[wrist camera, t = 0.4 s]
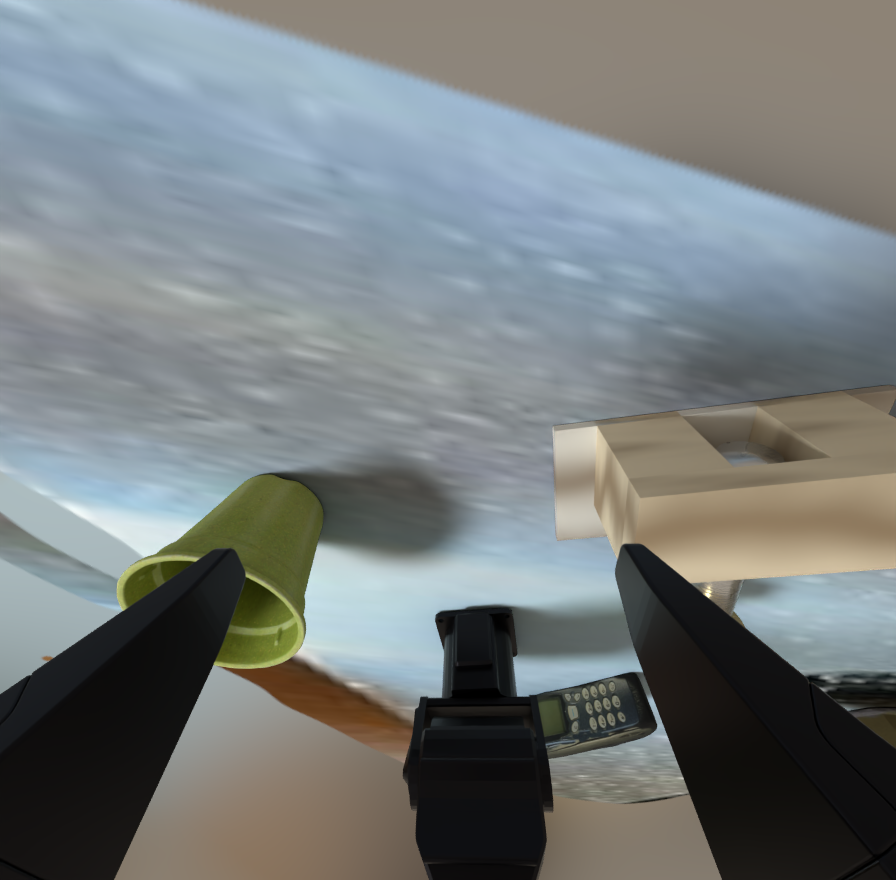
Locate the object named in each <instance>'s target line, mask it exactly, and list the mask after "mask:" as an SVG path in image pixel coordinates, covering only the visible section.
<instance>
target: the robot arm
mask: <svg viewBox="0 0 896 880" xmlns="http://www.w3.org/2000/svg"><path fill="white" fill-rule="evenodd" d="M615 576H616V581H617V585H618V589H619V592H620V596H621V600H622V604H623V608H624V612H625V615H626V619H627V623H628V627H629V631H630V634H631V638H632V641H633V645H634V648H635V651H636V654H637V657H638V659H639V662H640V665H641V667H642V670H643V673H644V675H645V678H646V680H647V683H648V686H649V688H650V691H651V694H652V696H653V699H654V702H655V704H656V707H657V709H658V712H659V715H660V717H661V720H662V723H663V725H664V728H665V731H666V733H667V736H668V738H669V741H670V744H671V746H672V749H673V752H674V754H675V757H676V760H677V762H678V765H679V767H680V770H681V773H682V775H683V778H684V781H685V783H686V786H687V789H688V791H689V794H690V796H691V799H692V801H693V804H694V807H695V810H696V812H697V815H698V818H699V820H700V823H701V825H702V828H703V831H704V833H705V836H706V839H707V841H708V844H709V846H710V849H711V852H712V854H713V857H714V859H715V862H716V865H717V868H718V870H719V873H720V875H721V878H722V880H896V748H895V747H894V746H892V745H891V744H890V743H888V742H887V741H886V740H884V739H883V738H882V737H880V736H879V735H878V734H876V733H875V732H874V731H873V730H871V729H870V728H869V727H867V726H866V725H865V724H864V723H862V722H861V721H860V720H859V719H857V718H856V717H855V716H854V715H852V714H851V713H850V712H849V711H847V710H846V709H845V708H843V707H842V706H841V705H840V704H838V703H837V702H836V701H835V700H833V699H832V698H831V697H830V696H829V695H827V694H826V693H825V692H824V691H822V690H821V689H820V688H819V687H817V686H816V685H815V684H814V683H809V680H808V679H807V678H806V677H805V676H804V675H803V674H801V673H800V672H799V671H798V670H796V669H795V668H794V667H793V666H792V665H790V664H789V663H788V662H787V661H785V660H784V659H783V658H782V657H780V656H779V655H778V654H777V653H776V652H774V651H773V650H772V649H771V648H769V647H768V646H767V645H766V644H765V643H763V642H762V641H761V640H760V639H758V638H757V637H756V636H755V635H753V634H752V633H751V632H750V631H749V630H747V629H746V628H745V627H744V626H742V625H741V624H740V623H739V622H738V621H736V620H735V619H734V618H733V617H731V616H730V615H729V614H728V613H727V612H725V611H724V610H723V609H722V608H720V607H719V606H718V605H717V604H715V603H714V602H713V601H712V600H711V599H709V598H708V597H707V596H706V595H704V594H703V593H702V592H701V591H700V590H698V589H697V588H696V587H695V586H693V585H692V584H691V583H690V582H688V581H687V580H686V579H685V578H684V577H682V576H681V575H680V574H679V573H677V572H676V571H675V570H674V569H673V568H671V567H670V566H669V565H668V564H666V563H665V562H664V561H663V560H662V559H660V558H659V557H658V556H657V555H655V554H654V553H653V552H652V551H650V550H649V549H648V548H647V547H646V546H644V545H642V544H640V543H625V544H623V545H622V546H621V548H620V551H619V555H618V560H617V564H616V568H615ZM245 579H246V573H245V569H244V567H243V565H242V563H241V561H240V558H239V556H238V554H237V552H236V551H235V550H234V549H233V548H216V549H213V550H212V551H210V552H209V553H207V554H206V555H204V556H203V557H201V558H200V559H199V560H197V561H196V562H194V563H193V564H191V565H190V566H188V567H187V568H185V569H184V570H182V571H181V572H179V573H178V574H176V575H175V576H174V577H172V578H171V579H169V580H168V581H166V582H165V583H163V584H162V585H160V586H159V587H157V588H156V589H154V590H153V591H152V592H150V593H149V594H147V595H146V596H144V597H143V598H141V599H140V600H138V601H137V602H135V603H134V604H132V605H131V606H129V607H128V608H127V609H125V610H124V611H122V612H121V613H119V614H118V615H116V616H115V617H114V618H112V619H111V620H109V621H107V622H106V623H105V624H103V625H102V626H100V627H99V628H97V629H96V630H94V631H93V632H91V633H90V634H88V635H87V636H86V637H84V638H82V639H81V640H80V641H78V642H77V643H75V644H74V645H72V646H71V647H69V648H68V649H66V650H65V651H63V652H62V653H60V654H59V655H57V656H56V657H55V658H53V659H52V660H50V661H49V662H47V663H46V664H44V665H43V666H41V667H40V668H38V669H37V670H36V671H34V672H33V673H32V675H29V676H26V677H25V678H23V679H22V680H21V681H19V682H18V683H16V684H15V685H13V686H12V687H10V688H9V689H8V690H6V691H4V692H3V693H1V694H0V880H114V878H115V876H116V874H117V872H118V870H119V868H120V866H121V864H122V861H123V859H124V857H125V855H126V853H127V850H128V848H129V846H130V844H131V842H132V840H133V837H134V835H135V833H136V831H137V829H138V827H139V825H140V822H141V820H142V818H143V816H144V814H145V812H146V809H147V807H148V805H149V803H150V801H151V798H152V797H153V794H154V792H155V790H156V788H157V786H158V784H159V781H160V779H161V777H162V775H163V772H164V770H165V768H166V766H167V764H168V762H169V760H170V757H171V755H172V753H173V751H174V749H175V747H176V745H177V742H178V740H179V738H180V736H181V734H182V731H183V729H184V727H185V725H186V723H187V721H188V719H189V716H190V714H191V712H192V710H193V708H194V706H195V704H196V701H197V699H198V697H199V695H200V693H201V690H202V688H203V686H204V684H205V682H206V680H207V678H208V675H209V673H210V671H211V669H212V667H213V665H214V662H215V660H216V658H217V656H218V654H219V651H220V649H221V647H222V645H223V642H224V639H225V637H226V634H227V631H228V629H229V626H230V623H231V620H232V617H233V614H234V611H235V609H236V606H237V603H238V600H239V597H240V594H241V591H242V589H243V586H244V583H245ZM435 622H436V625H437V629H438V632H439V636H440V639H441V642H442V646H443V649H444V667H443V689H442V698H428V697H421V698H420V703H419V707H418V708H416V709H415V717H414V727H413V734H412V739H411V742H410V746H409V749H408V753H407V757H406V760H405V764H404V768H403V779H404V780H405V782H406V783H407V784H408V789H409V795H410V806H411V809H412V810H413V811H417V814H416V815H417V816H416V842H417V845H418V848H419V851H420V854H421V857H422V860H423V863H424V866H425V869H426V872H427V875H428V878H429V880H538V879H539V875H540V872H541V868H542V865H543V860H544V854H545V848H546V841H547V838H546V827H545V819H544V812H553V794H552V784H551V775H550V768H549V761H548V755H547V749H546V743H545V738H544V732H543V727H542V722H541V716H540V711H539V705H538V700H537V695H529V697H517V692H516V682H515V673H514V664H513V657H515V656H517V646H516V638H515V630H514V622H513V614H512V610H511V609H508V608H504V609H490V610H475V611H461V612H446V613H438V614H436V617H435Z"/></svg>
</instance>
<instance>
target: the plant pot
mask: <svg viewBox="0 0 896 880" xmlns="http://www.w3.org/2000/svg"><path fill="white" fill-rule="evenodd" d="M322 525H323V508H322V506H321V504H320V502H319V500H318V499H317V497H316V496H315V495H314V494H313V493H312V492H311V491H310V490H309V489H308V488H307V487H305V486H304V485H302V484H301V483H299V482H297V481H290V480H285V479H281V478H278V477H276V476H274V475H260V476H256V477H252V478H250V479H248V480H247V481H245V482H244V483H243V484H242V485H241V486H239V487H238V488H237V489H236V490H235V491H234V492H232V493H231V494H230V495H229V496H228V497H227V498H226V499H225V500H224V501H222V502H221V503H220V504H219V505H218V506H217V507H216V508H214V509H213V510H212V511H211V512H210V513H209V514H208V515H207V516H205V517H204V518H203V519H202V520H201V521H200V522H198V523H197V524H196V525H195V526H194V527H192V528H191V529H190V530H189V531H188V532H187V533H185V534H184V535H183V536H182V537H181V538H180V539H179V540H177V541H176V542H174V543H171V544H169V545H167V546H166V547H164V548H163V549H161V550H160V551H159V552H158V553H156V554H155V555H151V556H148V557H145V558H143V559H141V560H139V561H137V562H135V563H134V564H133V565H131V566H130V567H129V568H128V569H127V570H126V571H125V572H124V573H123V574H122V576H121V577H120V579H119V581H118V583H117V598H118V601H119V604H120V606H121V609H122V610H123V611H124V610H125V609H127V608H128V607H129V606H131V605H132V604H134V603H135V602H137V601H138V600H140V599H141V598H143V597H144V596H146V595H147V594H149V593H150V592H152V591H153V590H154V589H156V588H157V587H159V586H160V585H162V584H163V583H165V582H166V581H168V580H169V579H171V578H172V577H174V576H175V575H176V574H178V573H179V572H181V571H182V570H184V569H185V568H187V567H188V566H190V565H191V564H193V563H194V562H196V561H197V560H199V559H200V558H201V557H203V556H204V555H206V554H207V553H209V552H210V551H212V550H213V549H216V548H233V549H234V550H235V551H236V552H237V554H238V556H239V558H240V561H241V563H242V565H243V567H244V569H245V573H246V579H245V583H244V586H243V589H242V591H241V594H240V597H239V600H238V603H237V606H236V609H235V611H234V614H233V617H232V620H231V623H230V626H229V629H228V631H227V634H226V637H225V639H224V642H223V645H222V647H221V649H220V651H219V654H218V656H217V658H216V660H215V662H214V665H216V666H223V667H228V668H248V669H249V668H264V667H269V666H273V665H277V664H280V663H282V662H284V661H286V660H288V659H289V658H291V657H292V656H293V655H294V654H296V653H297V652H298V650H299V649H300V647H301V646H302V644H303V641H304V638H305V634H306V622H305V618H304V615H303V614H304V609H305V598H304V595H305V591H306V587H307V583H308V579H309V575H310V571H311V567H312V563H313V559H314V555H315V551H316V547H317V544H318V540H319V536H320V532H321V529H322Z"/></svg>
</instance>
